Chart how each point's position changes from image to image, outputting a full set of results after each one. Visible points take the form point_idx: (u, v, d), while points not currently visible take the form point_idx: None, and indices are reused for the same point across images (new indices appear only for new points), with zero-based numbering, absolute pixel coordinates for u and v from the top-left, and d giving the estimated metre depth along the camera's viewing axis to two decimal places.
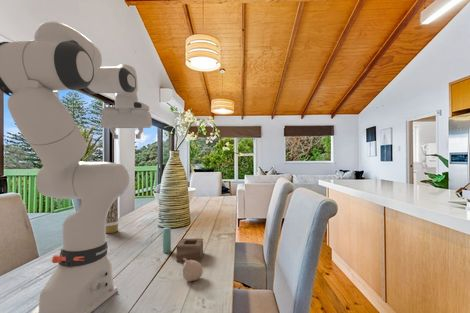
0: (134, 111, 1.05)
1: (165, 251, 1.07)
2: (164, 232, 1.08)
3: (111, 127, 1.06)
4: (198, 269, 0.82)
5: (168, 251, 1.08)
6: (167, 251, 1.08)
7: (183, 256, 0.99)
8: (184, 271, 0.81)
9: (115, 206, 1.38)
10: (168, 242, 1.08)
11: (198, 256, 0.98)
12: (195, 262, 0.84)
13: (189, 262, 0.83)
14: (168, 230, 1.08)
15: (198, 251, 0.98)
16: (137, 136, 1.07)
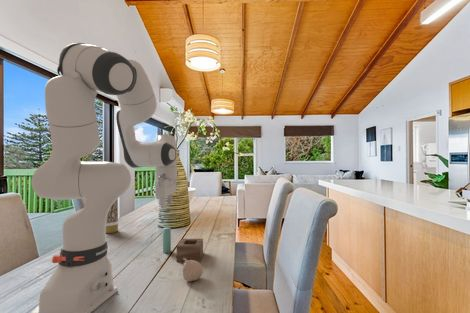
0: (174, 179, 1.13)
1: (165, 251, 1.07)
2: (164, 232, 1.08)
3: None
4: (198, 269, 0.82)
5: (168, 251, 1.08)
6: (167, 251, 1.08)
7: (183, 256, 0.99)
8: (184, 271, 0.81)
9: (115, 206, 1.38)
10: (168, 242, 1.08)
11: (198, 256, 0.98)
12: (195, 262, 0.84)
13: (189, 262, 0.83)
14: (168, 230, 1.08)
15: (198, 251, 0.98)
16: (171, 201, 1.14)
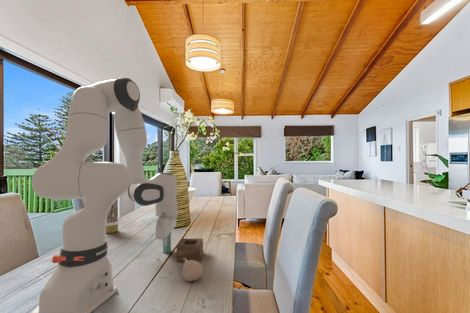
0: None
1: (165, 251, 1.07)
2: None
3: (166, 236, 1.03)
4: (198, 269, 0.82)
5: (168, 251, 1.08)
6: (167, 251, 1.08)
7: (183, 256, 0.99)
8: (184, 271, 0.81)
9: (115, 206, 1.38)
10: (168, 242, 1.08)
11: (198, 256, 0.98)
12: (195, 262, 0.84)
13: (189, 262, 0.83)
14: None
15: (198, 251, 0.98)
16: None
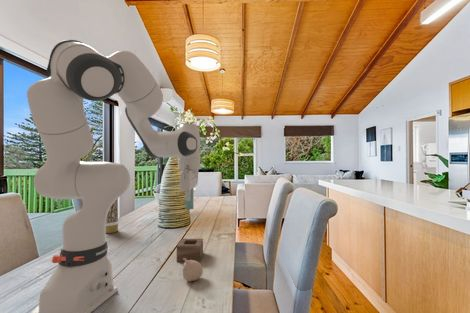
0: (197, 171, 1.08)
1: (188, 207, 1.02)
2: None
3: (190, 189, 0.97)
4: (198, 269, 0.82)
5: (191, 207, 1.02)
6: (190, 207, 1.02)
7: (183, 256, 0.99)
8: (184, 271, 0.81)
9: (115, 206, 1.38)
10: (191, 198, 1.02)
11: (198, 256, 0.98)
12: (195, 262, 0.84)
13: (189, 262, 0.83)
14: None
15: (198, 251, 0.98)
16: None
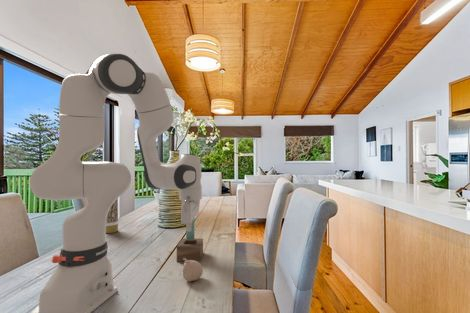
0: None
1: (189, 237, 1.01)
2: None
3: (191, 221, 0.97)
4: (198, 269, 0.82)
5: (192, 238, 1.02)
6: (191, 238, 1.01)
7: (183, 256, 0.99)
8: (184, 271, 0.81)
9: (115, 206, 1.38)
10: (192, 228, 1.02)
11: (198, 256, 0.98)
12: (195, 262, 0.84)
13: (189, 262, 0.83)
14: None
15: (198, 251, 0.98)
16: None
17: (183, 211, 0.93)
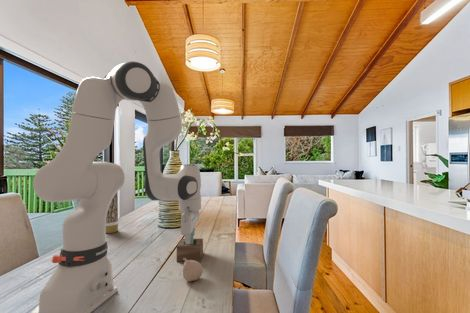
0: None
1: None
2: None
3: None
4: (198, 269, 0.82)
5: None
6: None
7: (183, 256, 0.99)
8: (184, 271, 0.81)
9: (115, 206, 1.38)
10: None
11: (198, 256, 0.98)
12: (195, 262, 0.84)
13: (189, 262, 0.83)
14: (191, 235, 1.01)
15: (198, 251, 0.98)
16: (194, 233, 1.08)
17: (183, 222, 0.93)
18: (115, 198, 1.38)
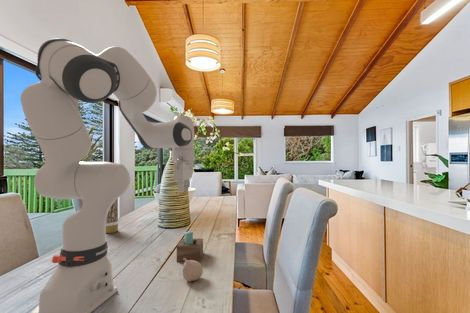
0: (191, 163, 1.08)
1: None
2: (186, 237, 1.01)
3: (184, 180, 0.98)
4: (198, 269, 0.82)
5: None
6: None
7: (183, 256, 0.99)
8: (184, 271, 0.81)
9: (115, 206, 1.38)
10: None
11: (198, 256, 0.98)
12: (195, 262, 0.84)
13: (189, 262, 0.83)
14: (190, 234, 1.01)
15: (198, 251, 0.98)
16: None
17: (175, 168, 0.94)
18: None
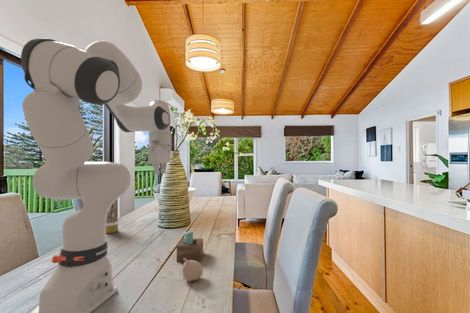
0: (168, 148, 1.11)
1: None
2: (186, 237, 1.01)
3: None
4: (198, 269, 0.82)
5: None
6: None
7: (183, 256, 0.99)
8: (184, 271, 0.81)
9: (115, 206, 1.38)
10: None
11: (198, 256, 0.98)
12: (195, 262, 0.84)
13: (189, 262, 0.83)
14: (190, 234, 1.01)
15: (198, 251, 0.98)
16: (165, 171, 1.12)
17: (150, 151, 0.97)
18: None
